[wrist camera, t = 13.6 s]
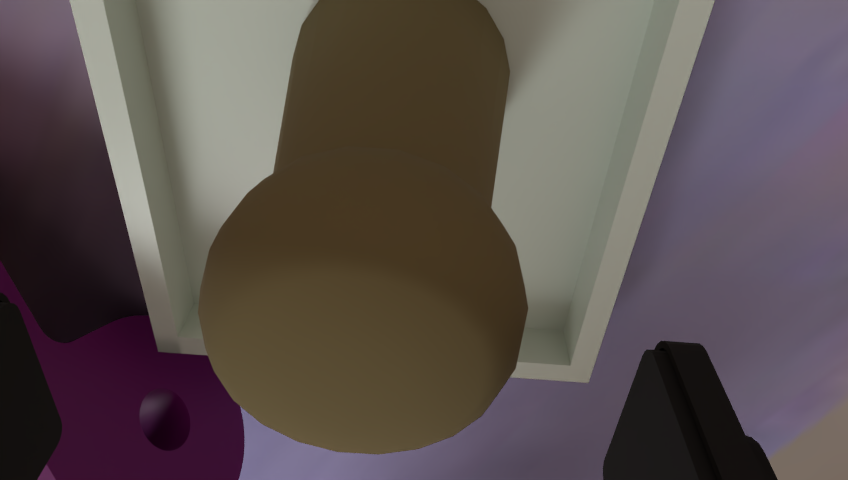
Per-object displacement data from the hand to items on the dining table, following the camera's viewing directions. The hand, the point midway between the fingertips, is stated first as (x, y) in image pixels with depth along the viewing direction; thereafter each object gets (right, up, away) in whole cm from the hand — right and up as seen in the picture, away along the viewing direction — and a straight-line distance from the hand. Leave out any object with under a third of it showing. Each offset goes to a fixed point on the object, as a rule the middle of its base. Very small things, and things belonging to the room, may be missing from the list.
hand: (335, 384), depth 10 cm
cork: (+1, +7, +8) cm, 11 cm away
